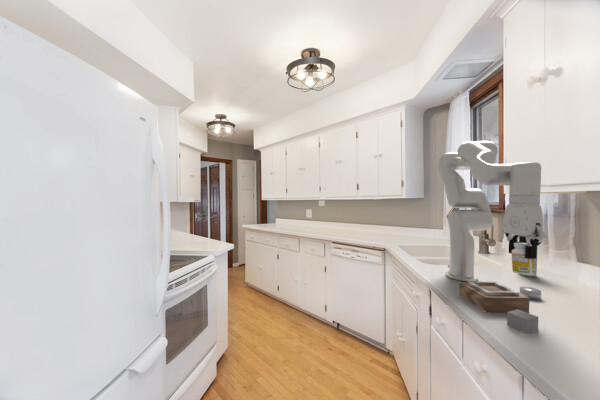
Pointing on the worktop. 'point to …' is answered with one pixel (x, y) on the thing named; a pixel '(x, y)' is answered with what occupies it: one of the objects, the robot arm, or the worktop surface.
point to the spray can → (523, 240)
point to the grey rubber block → (522, 321)
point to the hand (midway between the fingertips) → (522, 255)
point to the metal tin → (531, 293)
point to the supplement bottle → (521, 260)
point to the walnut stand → (493, 297)
